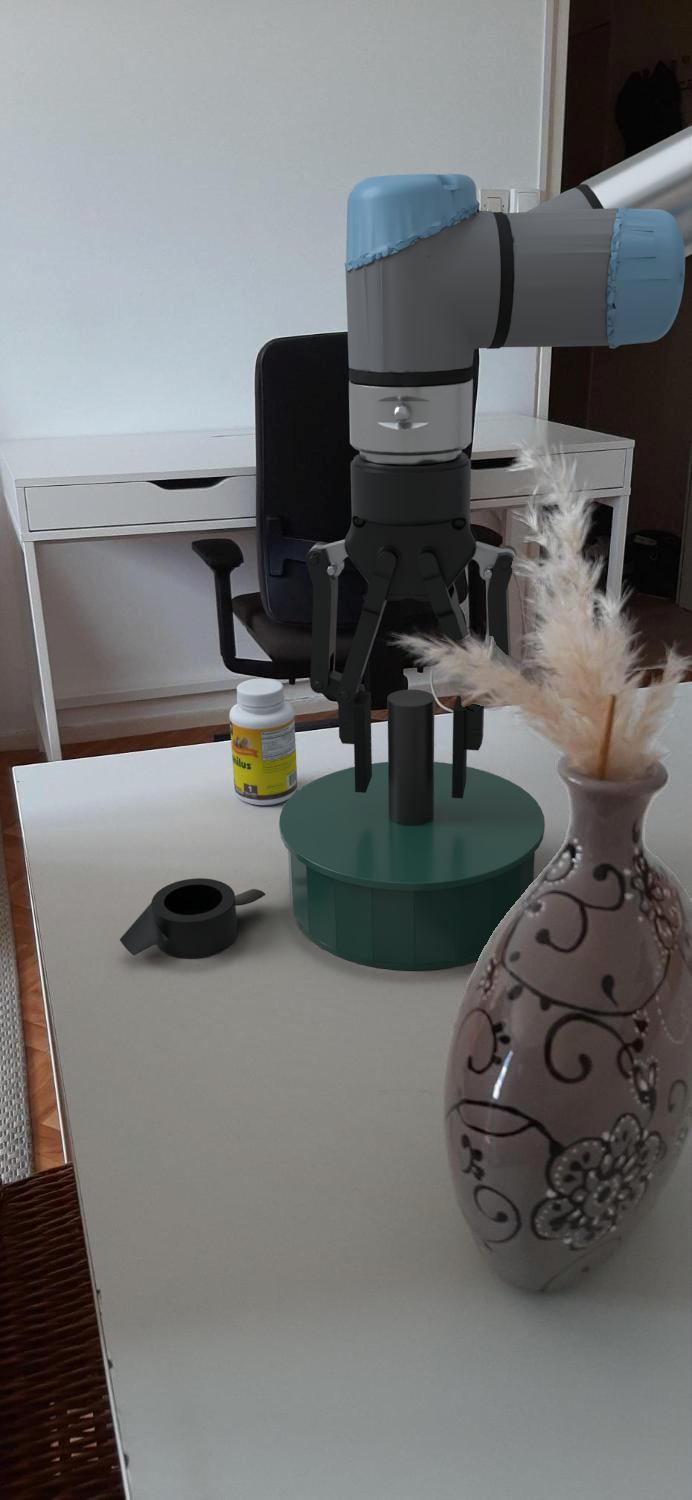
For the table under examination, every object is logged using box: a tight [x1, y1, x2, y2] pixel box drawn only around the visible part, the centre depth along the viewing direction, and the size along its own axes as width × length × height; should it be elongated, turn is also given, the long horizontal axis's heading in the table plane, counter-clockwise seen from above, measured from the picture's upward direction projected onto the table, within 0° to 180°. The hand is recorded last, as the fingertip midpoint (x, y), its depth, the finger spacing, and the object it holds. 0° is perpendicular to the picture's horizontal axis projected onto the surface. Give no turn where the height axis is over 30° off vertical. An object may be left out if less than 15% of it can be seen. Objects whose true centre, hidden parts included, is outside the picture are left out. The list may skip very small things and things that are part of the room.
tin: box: [287, 849, 536, 971], centre depth 83 cm, size 18×18×6 cm
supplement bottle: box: [228, 678, 298, 806], centre depth 99 cm, size 6×6×10 cm
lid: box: [278, 688, 546, 891], centre depth 80 cm, size 19×19×10 cm
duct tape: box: [119, 877, 266, 959], centre depth 81 cm, size 8×10×3 cm
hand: (411, 786), depth 81 cm, fingers open, 6 cm apart
